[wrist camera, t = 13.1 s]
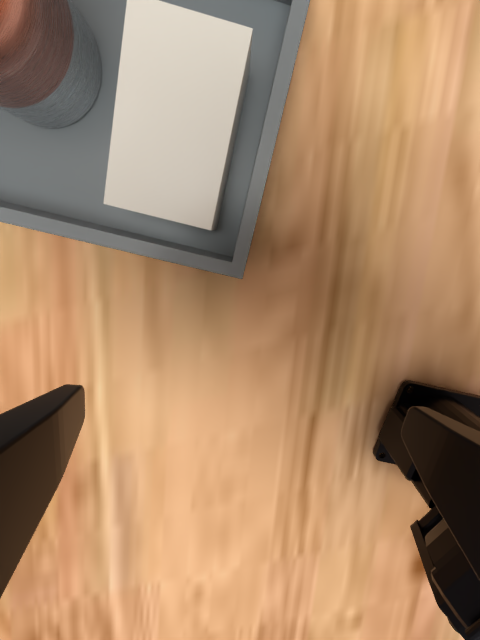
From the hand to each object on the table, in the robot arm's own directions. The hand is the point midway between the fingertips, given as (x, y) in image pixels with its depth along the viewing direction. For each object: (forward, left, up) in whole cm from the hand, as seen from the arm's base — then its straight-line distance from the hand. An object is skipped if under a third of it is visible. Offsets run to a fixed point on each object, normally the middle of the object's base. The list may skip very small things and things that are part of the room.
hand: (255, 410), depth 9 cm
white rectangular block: (+5, -8, -12) cm, 15 cm away
